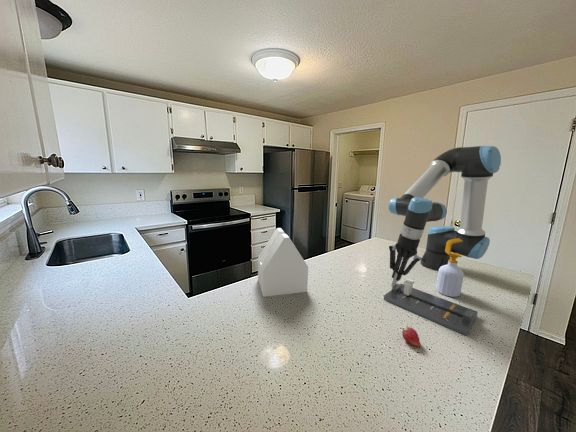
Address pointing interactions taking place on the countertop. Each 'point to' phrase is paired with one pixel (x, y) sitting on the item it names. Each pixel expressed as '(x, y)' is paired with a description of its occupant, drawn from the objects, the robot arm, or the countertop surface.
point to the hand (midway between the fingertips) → (393, 285)
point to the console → (433, 308)
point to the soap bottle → (450, 273)
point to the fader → (408, 286)
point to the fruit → (411, 336)
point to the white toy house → (281, 267)
